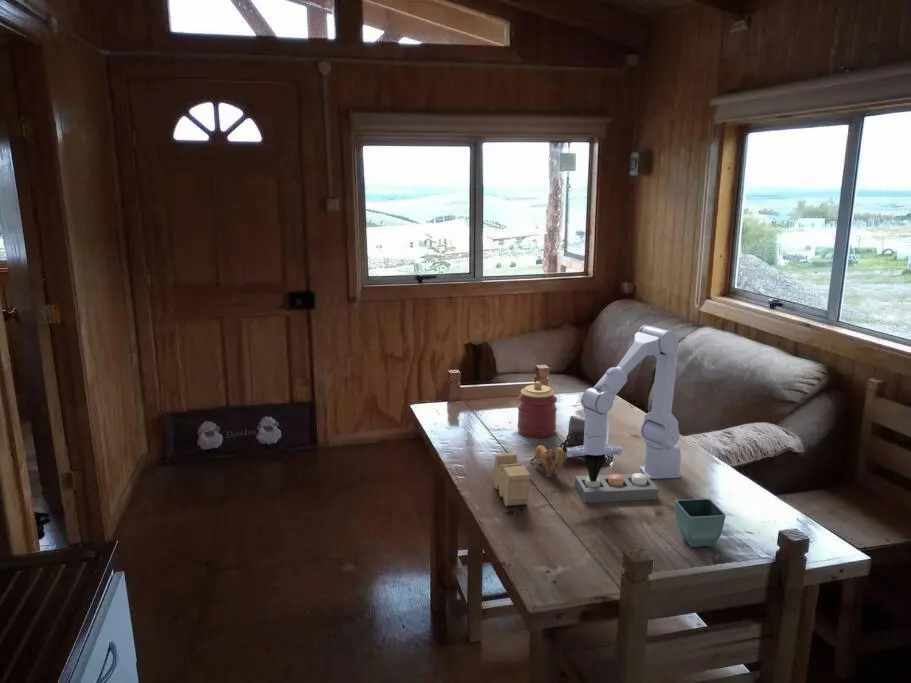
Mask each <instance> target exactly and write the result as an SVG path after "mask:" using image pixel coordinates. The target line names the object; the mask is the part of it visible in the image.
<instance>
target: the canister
mask: <svg viewBox="0 0 911 683" xmlns="http://www.w3.org/2000/svg"><path fill="white" fill-rule="evenodd" d="M555 392H556V391H555V390H554V389H553V388H551V387H550V386H548V385H544V384H542V382H541V381H538V380H537V381H535V382H534V383H533V384H530V385H527V386H525V387H523V388H522V389H521V390H520V393H521V394H520V395H519V396H518V397H517V399H518V401H519V404H518V405H517V410H518V411H517V412H518V414H517V427H516V428H517V431H518V433H519V434H521V436H524V437H529V438H533V439H535V438H536V439H540V438H541V439H543V438H549V437H552V436H554V435H555V433H556V430H557V424H556V423H557V422H556V421H557V410H558V408H557V406H556V403H557V402H558V397H556V396H555Z"/></svg>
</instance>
